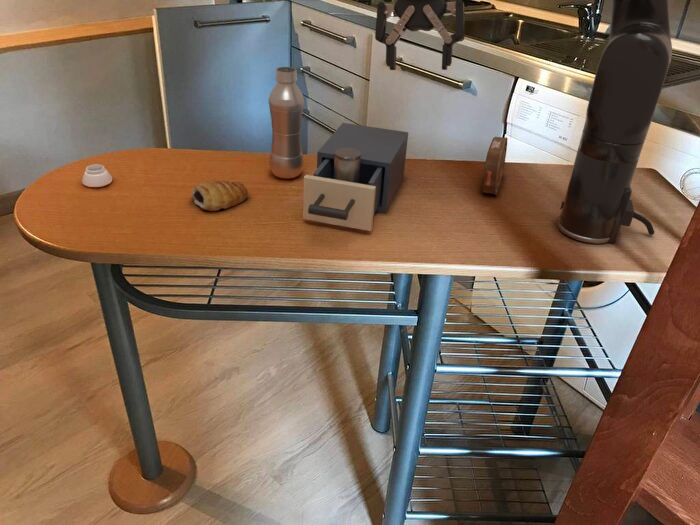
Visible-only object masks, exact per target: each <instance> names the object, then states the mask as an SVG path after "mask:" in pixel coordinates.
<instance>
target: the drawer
mask: <svg viewBox="0 0 700 525" xmlns="http://www.w3.org/2000/svg"><path fill="white" fill-rule="evenodd" d="M384 174H385V167H381V166H374V165H368V164H362V163H360V174H359V183H353V182H347V181H341V180H335V179H334V159H331V158H326V159H325V160H324V161H323V162H322V164H321V165H320V166H319V167H318V168H317V167H316V169H315V170H314V172H313V173H312V175H311V174H305V175H304V176H303V196H302V197H303V200H302V219H303V220H307V221H312V222H317V223H323V224H328V225H333V226H334V225H335V226H340V227H345V228H351V229H357V230H361V231H367V232H371V231H372V230H373V227H374V226H373V225H374V215H375V213H376V209H377V208H378V206H379V204H380V202H381V200H382V196H383V185H384Z"/></svg>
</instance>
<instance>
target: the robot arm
mask: <svg viewBox="0 0 700 525" xmlns="http://www.w3.org/2000/svg"><path fill="white" fill-rule="evenodd" d="M611 7H612V10H611V20H610V21H611V22H610V29H609V30H610V32H609V39H608V43H607V45H606V46H605V47H604V49H603V50H602V53H601V55H600V58H599V61H598V64H597V68H596V71H595V75H594V80H593V84H592V87H591V90H590V95H589V99H588V103H587V108H586V113H585V121H584V125H583V129H582V132H581V136H580V140H579V143H578V148H577V151H576V154H575V158H574V162H573V166H572V170H571V174H570V178H569V181H568V185H567V190H566V193H565V197H564V200H563V201H562V202H561V203H560V207H559V210H561V211H560V213H559V214H560V215H559V218H558V220H557V225H556V226H557V228H558V230H559V231H560V232H561V233H562V234H564V235H565V236H567V237H569V238H571V239H573V240H576V241H579V242H582V243H588V244H597V245H598V244H607V243H611V244H615V243H616V242H617V239H618V235H619V232H620V230H621V226H624V227H629V228H630V227H631V224H632V221H633V219H634V220H637V221H639V222H641V223H642V224H643V225H644V226H645V227H646V230H647V233H648V235H649V236H653V235H655V230H654V226H653V224H652V223H651V221H650V220H649V219H647V218H646V217H645V216H643V215H641V214H640V213H637V212H636V211H635V210H634V204H633V201H632V199H631V196H632V192H633V189H632V186H631V185H632V181H633V179H634V176H635V172H636V169H637V167H638V163H639V161H640V157H641V154H642V151H643V147H644V144H645V142H646V139H647V135H648V133H649V130H650V127H651V124H652V121H653V117H654V115H655V111H656V108H657V104H658V102H659V99H660V97H661V93H662V90H663V87H664V84H665V80H666V77H667V75H668V71H669V68H670V65H671V62H672V58H673V44H672V38H671V36H672V35H671V26H670V13H669V0H612V6H611ZM448 10H449V11H450V14H451V16H453V17H455V33H453V34H450V33H449V32H448V30H447V28H445V25H444V24H443V23H442V22H441V19H442V18H443V17H444V16H445V14H446V12H447V11H448ZM392 13H395V14H396V15H397V17H398V19H399V20H398V21H397V22H396V24H394V26H393V29H392V30H391V32H390V33H389V34H388V35H386V33H387V32H386V30H387V19H390V18H391V16H392ZM433 29H435V30H436V32H437V33H438V34H439V36H440V37H441V38H442V40H443V44H442V49H441V50H442V51H441V53H442V55H441V70H442V71H448V67H451V65H452V62H453V60H452V59H453V47H454V45H456V44H457V43H459V42H463V41H464V40H465V38H466V37H465V36H466V35H465V34H466V33H465V31H466V30H465V2H464V1H463V0H455V1H446V0H396V1H395V3H385V2H383V1H379V2H378V3H377V7H376V20H375V34H374V39H375V40H376V41H377V42H379V43H381V44H384V45H385V47H386V48H385V64H386V66H387V67H389V70H390V71H396V70H397V46H396V44H397V43H398V41H400V39H401V38H402V36H403V35H405V33H406V32H407V31H410V32H418V31H422V32H423V31H424V32H431V31H432V30H433Z"/></svg>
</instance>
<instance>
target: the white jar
mask: <svg viewBox="0 0 700 525" xmlns="http://www.w3.org/2000/svg"><path fill="white" fill-rule="evenodd" d="M81 178H82V179H81V183H82V184H83V186H85V187H89V188H101V187H105V186H107V185H110V184H111V183H112V182H113V176H112V175H111V173H110V172H109V170H107V169H106V168H105V166H104V165H102V164H96V163H95V164H90V165H88V166H86V168H85V171H84V173H83V176H82V177H81Z"/></svg>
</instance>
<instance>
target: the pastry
mask: <svg viewBox="0 0 700 525" xmlns="http://www.w3.org/2000/svg"><path fill="white" fill-rule="evenodd" d="M248 196H249V192H248V188H247V187H246V186H245V184H244V183H241V182H238V181H232V182H231V181H230V180H214V179H212V180H209V182H208V181H202V182H200V184H196V185H194V187H193V189H192V191H191V198H192V200H193V203H194V204H195V205H196V206H198V207H200V208H201V209H202V210H205V211H210V212H216V211H219V210H220V209H224V210H225V209H228V208H231V207H235V206H236V205H239V204H241V203H242V202H244V201H245V200H246V199H247V198H248Z"/></svg>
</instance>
